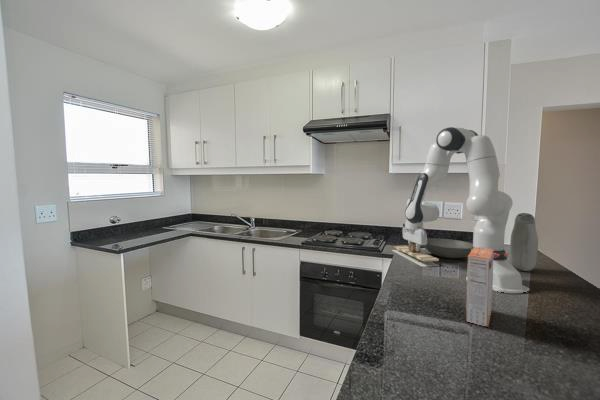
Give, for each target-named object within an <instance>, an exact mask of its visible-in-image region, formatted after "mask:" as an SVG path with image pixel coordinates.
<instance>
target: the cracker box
mask: <svg viewBox="0 0 600 400" xmlns="http://www.w3.org/2000/svg"><path fill="white" fill-rule="evenodd" d="M493 255H494V250H493V249H486V248H479V247H474V248H473V249H472V251H471V252H470V254H469V255H468V256H467V271H466V272H467V273H466V275H467V276H466V277H467V280H466V315H465V316H466V319H465V320H466V321H467V322H470V323H469V324H471V323H474V324H473V325H475V324H477V325H476V326H479V325H482V326H487V327H488V328H489V326H490V325H489V324H490V320H491V317H490V316H492V312H491V311H492V309H493V290H492V288H493ZM467 322H466V323H467ZM482 326H481V327H482Z"/></svg>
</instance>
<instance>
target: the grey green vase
mask: <svg viewBox="0 0 600 400" xmlns="http://www.w3.org/2000/svg"><path fill="white" fill-rule="evenodd" d="M509 242H510V247H509V251H510V252H509V261H510V264H511V265H512V266H513V267H514V268H515V269H516V270H517V271H522V272H530V271H532V270H533V269H535V267H536V265H537V261H538V249H539V236H538V232H537V228H536V219H535V217H534V215H533V214H530V213H528V212H521V213H518V214H517V215H516V216H515V218H514V223H513V227H512V232H511V234H510V241H509Z"/></svg>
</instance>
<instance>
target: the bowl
mask: <svg viewBox="0 0 600 400" xmlns="http://www.w3.org/2000/svg"><path fill="white" fill-rule="evenodd" d="M422 246H423V247H424V249H425V250H426V251H428V252H429V253H431V254H432V255H435V256H438V257H440V258H445V259H453V260H457V259H464V258H466V257H467V258H468V255H469V254H470V252H471V249H472V246H473V242H472V243H471V242H468V241H463V240H458V239H450V238H449V239H448V238H427V244H426V245H422Z"/></svg>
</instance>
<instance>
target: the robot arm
mask: <svg viewBox="0 0 600 400" xmlns="http://www.w3.org/2000/svg"><path fill="white" fill-rule="evenodd" d="M435 139H436V140H435V142H433V143H432V144H431V145H430V146H429V150H428V152H427V154H426V155H427V156H426V159H425V162H424V163H425V164H424V166H423V170H422V171H421V173H420V174H419V175H418V177H417V178H416V181H415V185H414V187H413V189H412V193H411V196H410V197H409V198H407V201H406V205H405V206H406V207H405V210H404V216H405V218H406V219H405V222H403V223H402V224H401V228H402V238H403V239H404V240H406V241H408V245H409V244H416V248H415V251H419V248H420V249H421V246H423V245H426V244H427V239H428V236H427V232H426V230H425V228H424V223H427V222H429V223H430V222H433V221H434V222H435V221H436V220H438V218H439V216H440V209H439V208H438V206H437V205H436V204H433V203H431V202H427V201H426V200H424V198H425V196H426V193H427V190H428V189H429V188H430V187H431V186H433V185H434V184H436V183H438V182H441V181H442V180H444V179H445V178H446V177H447V175H448V172H449V169H450V168H449V167H450V164H451V160H452V157H453V155H454V154H458V155H459V154H464V157H465V160H466V161H465V162H466V167H467V172H468V177H469V189H468V197H467V198H466V203H465V205H466V210H467V211H468V212H469V213H470V214H471V215H473V216H475V217H478V218H477V222H476V224H475V225H474V227H473V234H472V235H473V237H472V244H473V246H472V249H473V248H474V247H479V248H486V249H493V250H494V255H493V288H492V291H494V292H497V291H498V292H497V293H501V292H504V293H503V294H524V293H523V292H526V293H528V292H527V291H529V290H530V287H528V286H525V285H524V284H523V278H522V275H521V273H520V272H519V270H518V269H516V268H514V267H513V266H512V264H511V262H509V260H508V256H510V253H506V250H505V248H504V247H505V233H506V227H507V223H508V219H509V215H510V211H511V208H512V207H513V205H514V203H513V198H511V196H510V195H508V193H506V192H504V191H501V190H500V191H499V179H500V176H501V173H500V167H499V164H498V163H499V162H498V159H497V154H496V150H495V147H494V145H493V142H492V141H491V139H490V137H489V136H488V135H485V134H484V135H483V134H481V135H479V134H478V133H477V132H476V131H474V130H472V129H467V128H464V127H463V128H462V127H452V126H450V127H446V128H443V129H441V130H440V131H439V132H438V134H437V136H436V138H435ZM472 249H471V251H472ZM465 280H466V281H467V276H466V277H465ZM529 292H530V291H529Z"/></svg>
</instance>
